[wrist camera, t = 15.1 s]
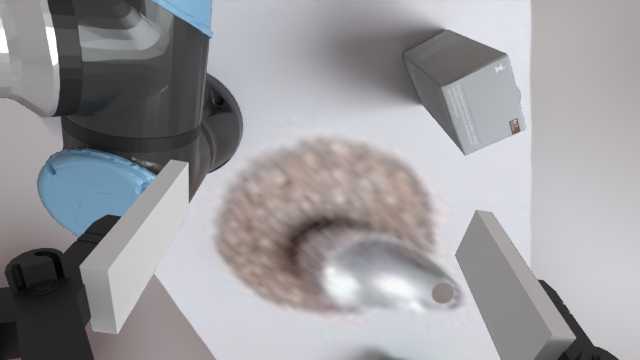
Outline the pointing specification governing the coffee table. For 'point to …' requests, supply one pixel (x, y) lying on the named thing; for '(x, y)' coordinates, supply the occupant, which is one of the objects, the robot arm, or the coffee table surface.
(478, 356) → the coffee table surface
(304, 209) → the coffee table surface
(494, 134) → the skincare box
